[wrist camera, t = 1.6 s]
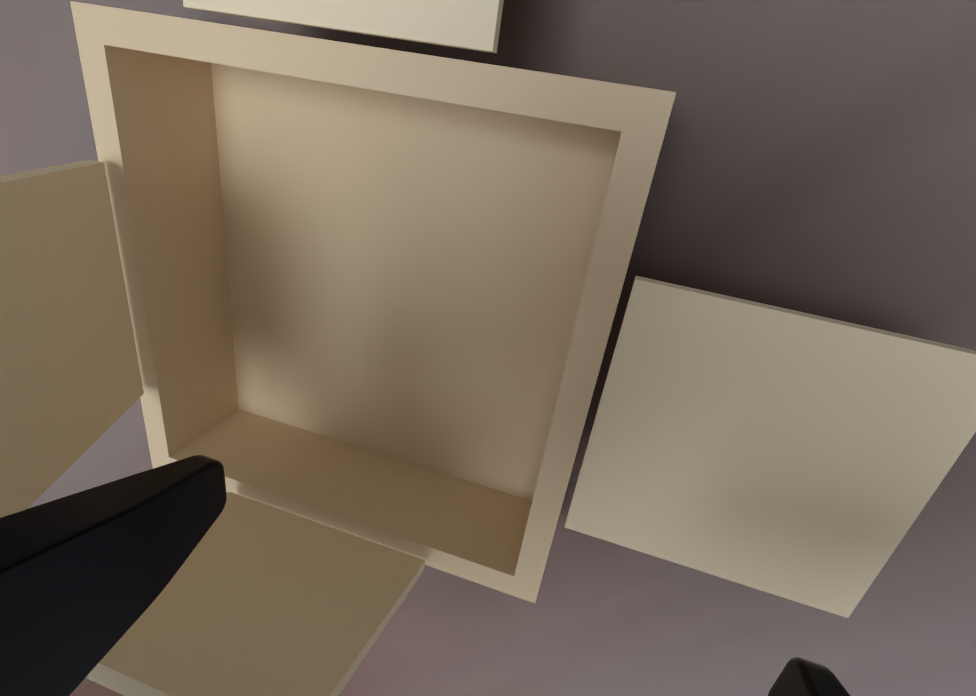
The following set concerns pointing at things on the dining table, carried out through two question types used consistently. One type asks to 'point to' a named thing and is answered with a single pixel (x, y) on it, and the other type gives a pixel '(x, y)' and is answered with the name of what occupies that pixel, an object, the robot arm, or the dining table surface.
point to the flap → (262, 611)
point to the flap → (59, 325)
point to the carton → (479, 311)
